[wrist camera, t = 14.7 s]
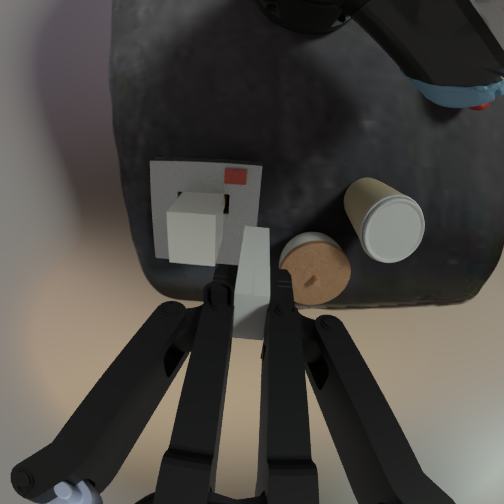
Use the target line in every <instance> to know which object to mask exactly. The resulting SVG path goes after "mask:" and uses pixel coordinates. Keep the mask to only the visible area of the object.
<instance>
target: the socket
mask: <svg viewBox="0 0 504 504" xmlns="http://www.w3.org/2000/svg"><path fill="white" fill-rule="evenodd" d="M261 176H262V162H257V161H245V160H231V159H213V158H188V157H156V158H154V159H152V160H151V161H150V182H151V204H152V220H153V233H154V245H155V255H156V258H164V259H169V249H168V233H167V213H166V212H167V210H168V209H169V208H170V207H171V206H172V204H173V203H174V202H175V201H176V199H177V198H178V197H179V196H180V195H181V193H182V192H200V193H216V194H228V195H230V198H229V207H225V208H224V210H223V234H222V241H221V245H220V249H219V253H218V256H217V260H216V263H218V264H230V265H239V260H240V253H241V247H242V241H243V234H244V228H245V226H251V227H257V218H258V208H259V197H260V186H261Z"/></svg>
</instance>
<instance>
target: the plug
mask: <svg viewBox="0 0 504 504" xmlns="http://www.w3.org/2000/svg"><path fill="white" fill-rule="evenodd" d="M226 200H227V194H216V193H200V192H182V193H181V195H180V196H179V197H178V198H177V199H176V201H175V202H174V203H173V204H172V206H171V207H170V208H169V209H168V210H167V212H166V213H167V233H168V249H169V262H172V263H183V264H193V265H204V266H215V264H216V260H217V256H218V253H219V249H220V245H221V241H222V234H223V210H224V208H225V205H226Z"/></svg>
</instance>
